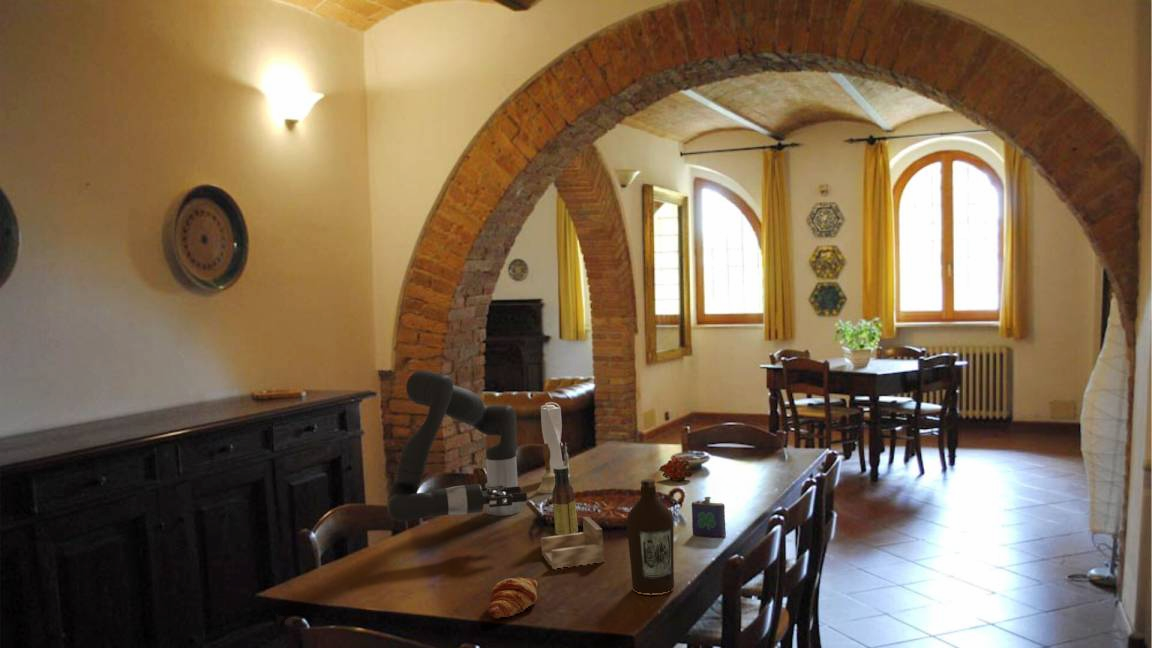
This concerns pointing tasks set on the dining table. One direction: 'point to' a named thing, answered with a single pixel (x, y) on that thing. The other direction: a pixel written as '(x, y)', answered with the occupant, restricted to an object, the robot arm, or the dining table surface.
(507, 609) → the croissant
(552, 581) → the dining table surface
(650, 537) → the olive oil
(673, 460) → the dragon fruit
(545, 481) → the hand bell
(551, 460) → the skyscraper
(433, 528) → the dining table surface
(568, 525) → the sauce bottle
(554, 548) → the light wooden holder
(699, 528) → the flask
